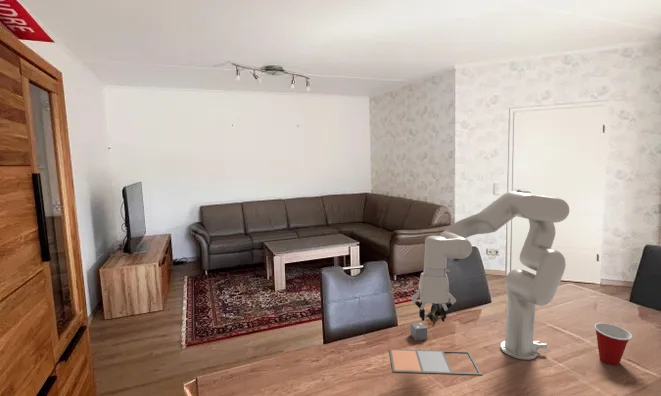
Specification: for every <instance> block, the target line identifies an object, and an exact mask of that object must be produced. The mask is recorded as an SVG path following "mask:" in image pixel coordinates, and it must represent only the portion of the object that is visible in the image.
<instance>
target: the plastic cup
mask: <svg viewBox="0 0 661 396" xmlns="http://www.w3.org/2000/svg"><path fill="white" fill-rule="evenodd" d="M594 330H595V334H596V340H597V350H598V356H599V359H600V361H602V362H603V363H605V364H608V365H612V366H618V365H620V363H621V362H622V361H621V360H622V358H623V355H624V353H625V350H626V347H627V344H628V342H629V340H631V339H632V337H633V335H632V333H631V332H629V330H627V329H624V328H623V327H621V326H618V325H615V324H611V323H607V322H597V323H595V324H594Z"/></svg>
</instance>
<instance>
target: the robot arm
mask: <svg viewBox="0 0 661 396" xmlns="http://www.w3.org/2000/svg"><path fill="white" fill-rule="evenodd" d="M569 214H570V206H569V203H567V201H566V200H564V199H562V198H559V197H551V196H547V195H541V194H540V195H539V194H533V193H532V194H531V193H526V192H525V193H524V192H519V191H506V193H504V194H503V195H501V196H499V197H498V198H497V199H496V200H494V201H493V202H491V204H489V205H488V206H486V207H485V208H483V209H482V210H481V211H480V212H477V213H475V214H473V215H469V216H467V217H465V218H462V219H460V220H458V221H456V222H454V223H452V224H451V225H449V226H448V227H447V228H446V229H444V231H443V232H441V233H440V235H429V236H426V237H425V240H424V254H423V255H424V256H423V272H421V273H420V277H419V283H418V290H417V291H416V292H415V293H414V294H413V295H411V297H410V299H411V301H412V302H413V303H414V304H415V305H416V306H417V308H419V318H420V319H421V322H424V321H425V318H424V316H425V314H426V313H425V311H426V310H425V306H426V305H427V304H433V303H437V305H438V304H440V305H441V307H440V316H439V317H441V316H442V315H444V316H443V317H442V318H440V320H441V322H443V323H444V322H445V320H446V319H447V311H448V310H449V309H450V308H451V307H452V306H453V305H454V304H455V303H456V302H457V299H456V298H455V297H454V296H453V295H452V294H451V293H450V287H449V286H450V285H449V284H450V283H449V277H448V273H450V272H451V268H450V267H447V258H448V259H450V258H451V259H456V260H457V259H458V260H459V259H460V260H461V259H465V258H467V257H469V256H470V255H471V254H472V251H473V246H472V245H473V244H472V243H471V242H470V241H469V239H467V238H468V237H472V236H475V235H485V234H491V233H492V234H493V233H496V232H498V230H500V229H501V228H502V227H503V226H505V225H507V223H509V222H510V221H511V220H513V219H514V218H515V217H519V218H523V219H526V220H528V223H529V230H528V233H527V235H526V238H525V240H524V242H523V245H522V248H521V251H520V253H519V261H520V263H521V264H522V265H523V266H525V267H526V268H528V269H530V270H533V271H535V272H536V273H535V274H534V273H532V272H529V271H528V270H525V269H521V268H520V269H519V268H515V269H512V270H510V271H509V272H508V273H507V275H506V277H505V283H504V284H505V290H506V316H505V317H506V319H505V336H504V337H505V339H504V340H503V341H501V342H500V347H499V348H500V350H501V351H502V352H503V353H504V354H506V355H507V356H510V357H511V358H515V359H518V360H522V361H523V360H525V361H528V360H529V361H530V360H534V359H535V358H537V357H538V350H540V349H541V350H547V349H548V345H547V343H541V342H540V340H535V338H534V337H535V323H536V306H538V307H539V306H540V307H543V306H547V305H548V304H549V303H550V302H552V300H553V298H554V297H555V295H556V293H557V291H558V288H559V286H560V283H561V281H562V279H563V276H564V273H565V270H566V265H567V264H566V259H565V255H563V254H562V253H561V252H560V251H559V250H557V249H554V248H552V247H553V244H554V240H555V237H556V226H555V224H556V223H561V222H563V221H565V220H566V218H568V216H569ZM418 298H419V300H418Z"/></svg>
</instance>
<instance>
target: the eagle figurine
mask: <svg viewBox="0 0 661 396" xmlns="http://www.w3.org/2000/svg"><path fill="white" fill-rule="evenodd" d="M437 311H438V304H437V303H432V304H431V307H430V311H428V312H427V313H425V316H424V319H429V320H430V322H432V327H435V325H436V323H439V320H441V318H442V317H443V316H444V315H442V316H441V317H440V316H439V315H438V314H436V312H437Z"/></svg>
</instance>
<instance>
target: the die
mask: <svg viewBox="0 0 661 396" xmlns="http://www.w3.org/2000/svg"><path fill="white" fill-rule="evenodd" d="M411 335H412V336H411ZM410 336H411V337H412V338H413V339H414V341H416V340H417V341H425V340H426V341H427V340H428V327H427V325H425V324H424V323H423V321H421V322H413V323H410Z"/></svg>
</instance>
